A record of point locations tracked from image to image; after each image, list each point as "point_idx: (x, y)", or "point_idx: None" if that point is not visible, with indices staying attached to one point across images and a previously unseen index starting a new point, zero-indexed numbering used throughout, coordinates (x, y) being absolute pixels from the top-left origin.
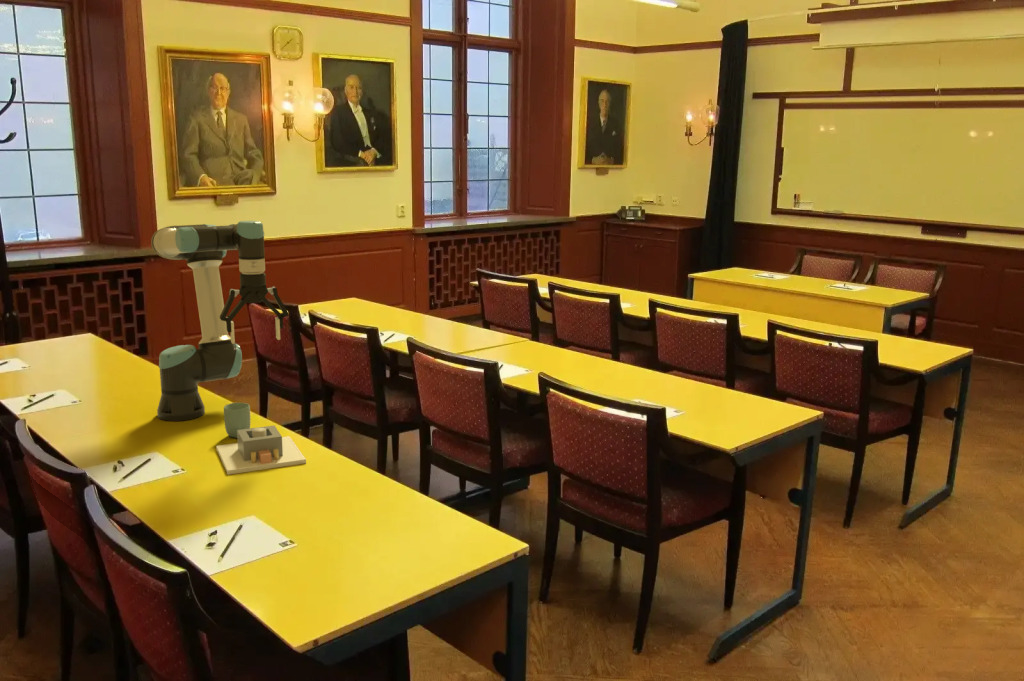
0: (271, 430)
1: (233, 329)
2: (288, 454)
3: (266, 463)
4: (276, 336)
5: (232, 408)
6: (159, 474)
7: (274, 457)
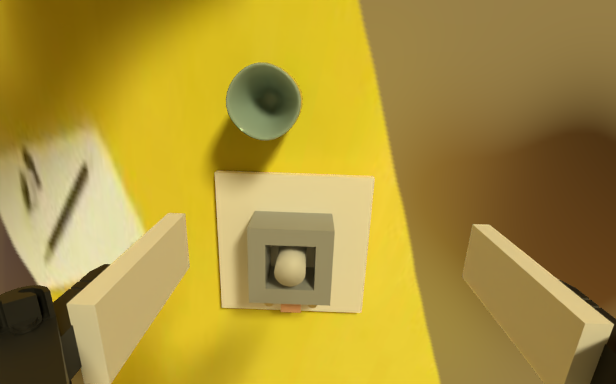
0: (319, 261)
1: (140, 330)
2: (339, 279)
3: None
4: (476, 243)
5: (255, 74)
6: (110, 255)
7: None
